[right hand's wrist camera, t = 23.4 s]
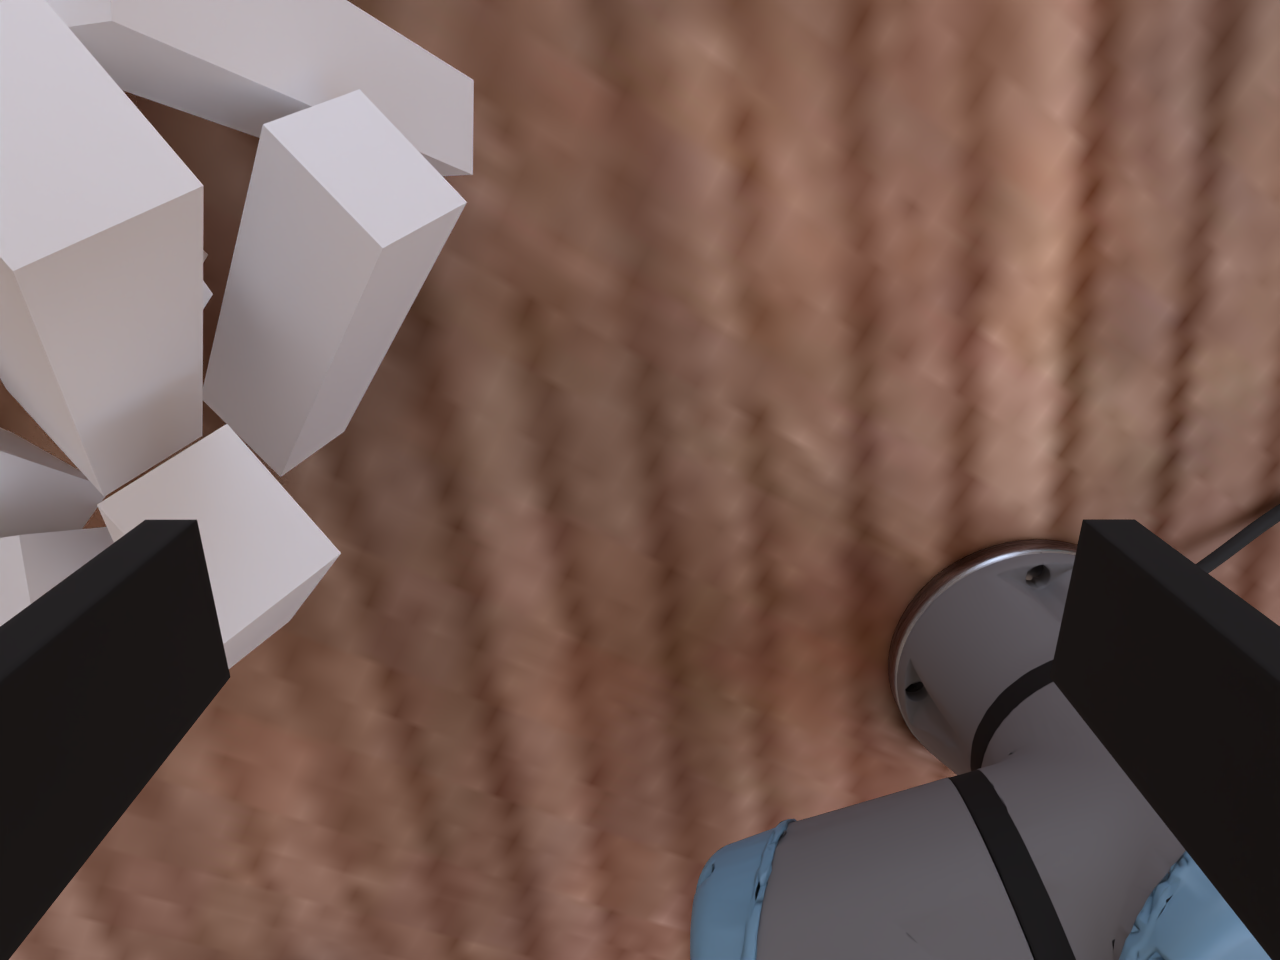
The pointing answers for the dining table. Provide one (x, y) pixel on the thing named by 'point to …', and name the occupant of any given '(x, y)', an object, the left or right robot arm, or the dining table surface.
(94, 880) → the dining table surface
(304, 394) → the pile of blocks
